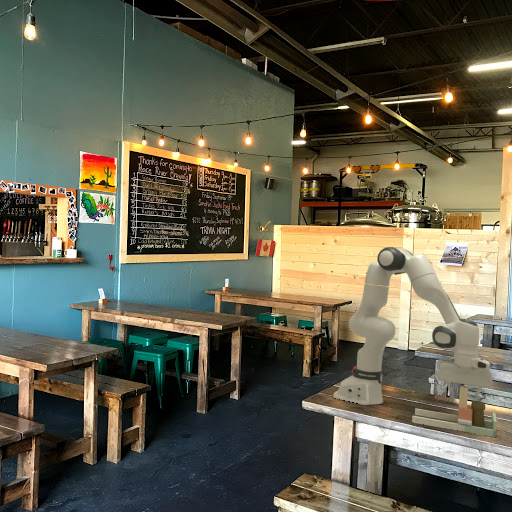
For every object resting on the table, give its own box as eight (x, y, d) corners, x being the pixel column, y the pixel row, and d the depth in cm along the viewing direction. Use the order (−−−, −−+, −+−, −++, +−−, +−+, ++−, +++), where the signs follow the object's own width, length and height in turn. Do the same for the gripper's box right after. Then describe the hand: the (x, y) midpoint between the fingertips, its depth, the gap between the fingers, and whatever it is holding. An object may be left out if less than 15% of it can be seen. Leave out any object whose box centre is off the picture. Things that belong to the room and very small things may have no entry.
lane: (412, 422, 201) (412, 407, 201) (415, 414, 212) (415, 400, 212) (495, 437, 189) (496, 421, 189) (494, 427, 200) (495, 412, 200)
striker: (457, 429, 194) (459, 389, 194) (458, 419, 206) (460, 382, 206) (471, 432, 192) (473, 392, 192) (471, 422, 204) (473, 384, 204)
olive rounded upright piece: (466, 429, 197) (468, 401, 197) (471, 425, 202) (472, 398, 202) (482, 433, 193) (484, 404, 193) (487, 429, 198) (488, 401, 198)
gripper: (437, 358, 200) (435, 392, 201) (493, 365, 192) (491, 401, 192) (438, 355, 206) (436, 388, 206) (493, 362, 198) (491, 397, 198)
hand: (463, 395), depth 199 cm, fingers open, 8 cm apart
